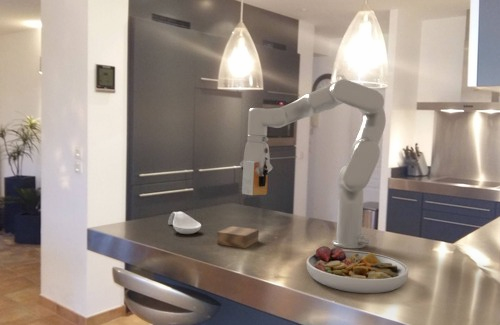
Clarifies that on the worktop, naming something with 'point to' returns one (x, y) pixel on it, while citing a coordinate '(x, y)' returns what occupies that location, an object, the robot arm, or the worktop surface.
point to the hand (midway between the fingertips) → (254, 184)
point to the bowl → (356, 270)
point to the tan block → (237, 236)
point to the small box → (252, 179)
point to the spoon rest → (183, 223)
